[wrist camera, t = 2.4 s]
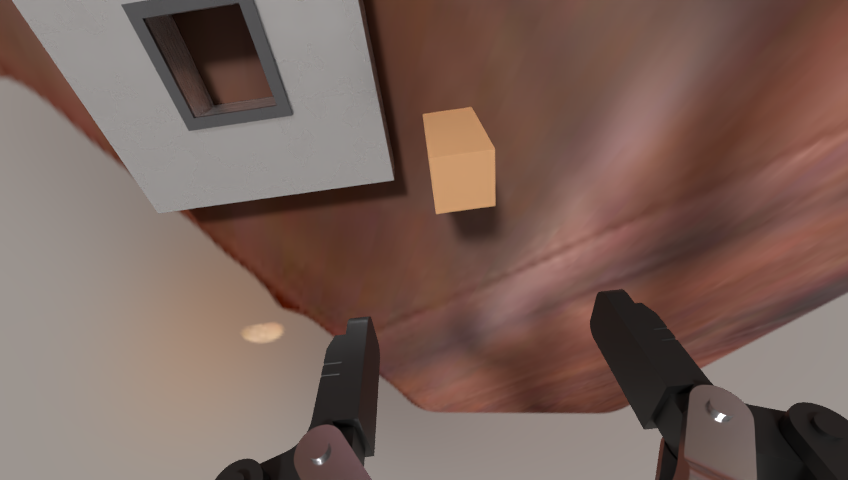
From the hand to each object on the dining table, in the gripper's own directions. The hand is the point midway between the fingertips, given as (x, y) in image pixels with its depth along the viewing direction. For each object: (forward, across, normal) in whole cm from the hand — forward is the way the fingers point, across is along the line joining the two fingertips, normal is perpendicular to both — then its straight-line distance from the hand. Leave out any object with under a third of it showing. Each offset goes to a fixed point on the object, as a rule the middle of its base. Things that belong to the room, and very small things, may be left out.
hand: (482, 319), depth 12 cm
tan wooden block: (+21, -1, 0) cm, 21 cm away
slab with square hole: (+21, +14, -7) cm, 26 cm away
